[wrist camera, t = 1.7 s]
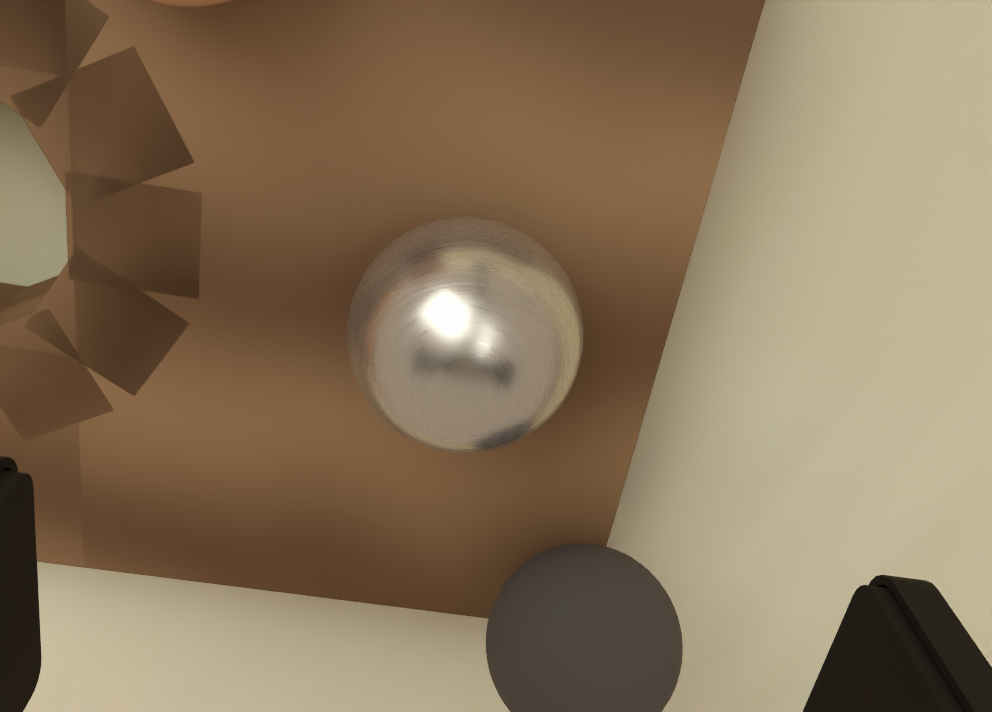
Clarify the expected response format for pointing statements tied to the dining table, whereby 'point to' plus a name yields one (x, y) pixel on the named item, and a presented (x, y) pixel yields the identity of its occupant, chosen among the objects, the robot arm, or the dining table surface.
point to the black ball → (583, 634)
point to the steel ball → (465, 335)
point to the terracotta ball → (191, 2)
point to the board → (339, 272)
